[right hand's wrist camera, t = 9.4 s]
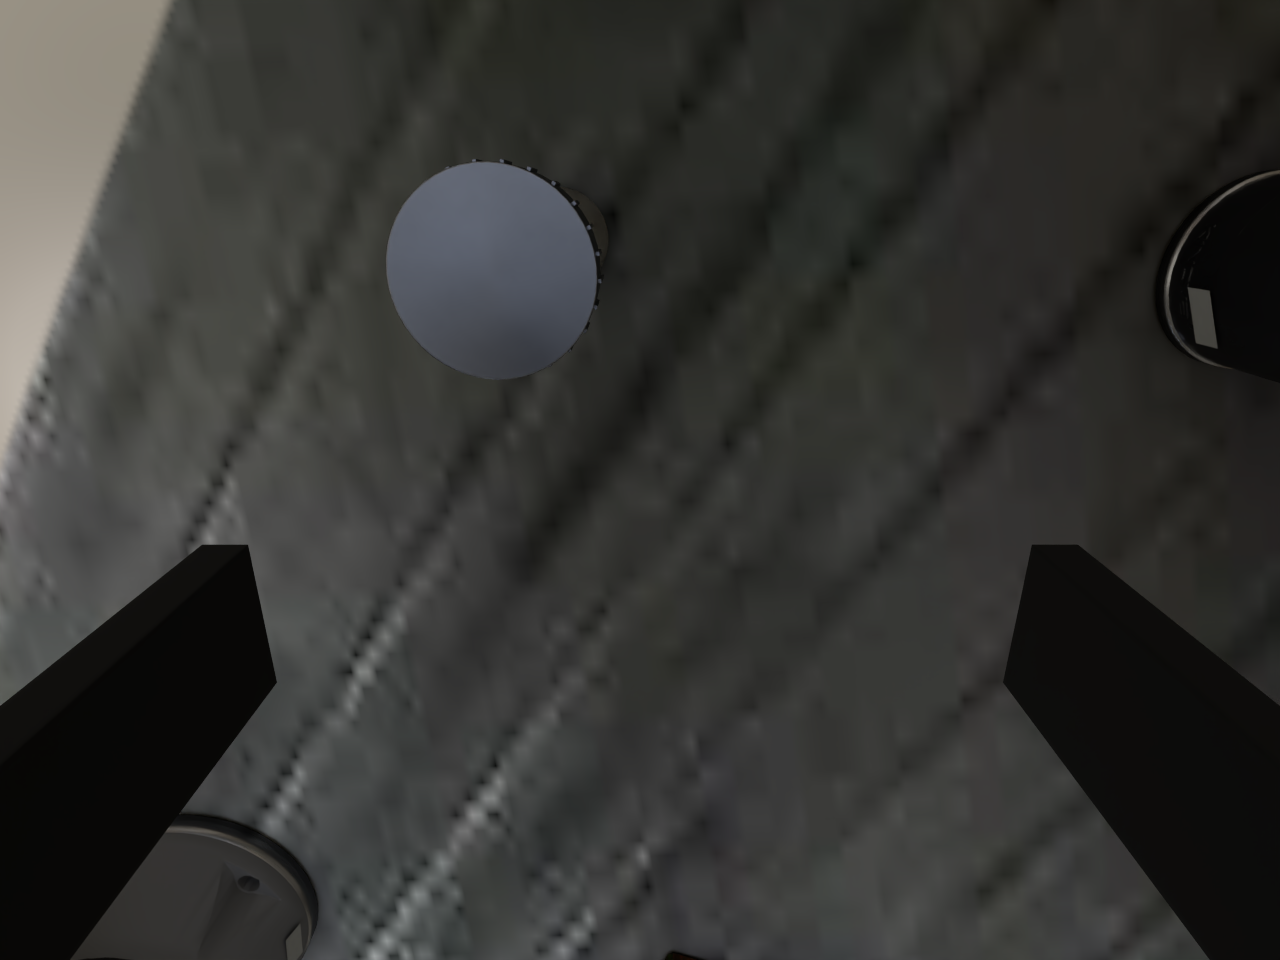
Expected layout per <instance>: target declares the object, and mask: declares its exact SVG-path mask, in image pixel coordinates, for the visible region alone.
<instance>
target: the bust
mask: <svg viewBox="0 0 1280 960" xmlns="http://www.w3.org/2000/svg"><path fill="white" fill-rule="evenodd" d="M665 960H697V959H694V958H690V957H687V956H683V955H680V954H676V953H671V954H669V955H667V957H666V959H665Z"/></svg>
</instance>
